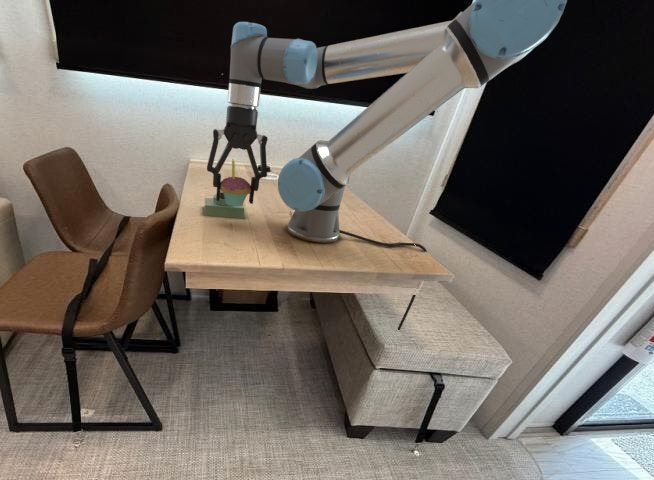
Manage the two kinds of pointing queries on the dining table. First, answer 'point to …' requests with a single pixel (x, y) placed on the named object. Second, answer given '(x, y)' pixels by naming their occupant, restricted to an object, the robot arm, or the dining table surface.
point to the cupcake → (235, 189)
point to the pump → (222, 195)
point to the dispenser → (222, 208)
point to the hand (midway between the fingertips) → (234, 200)
